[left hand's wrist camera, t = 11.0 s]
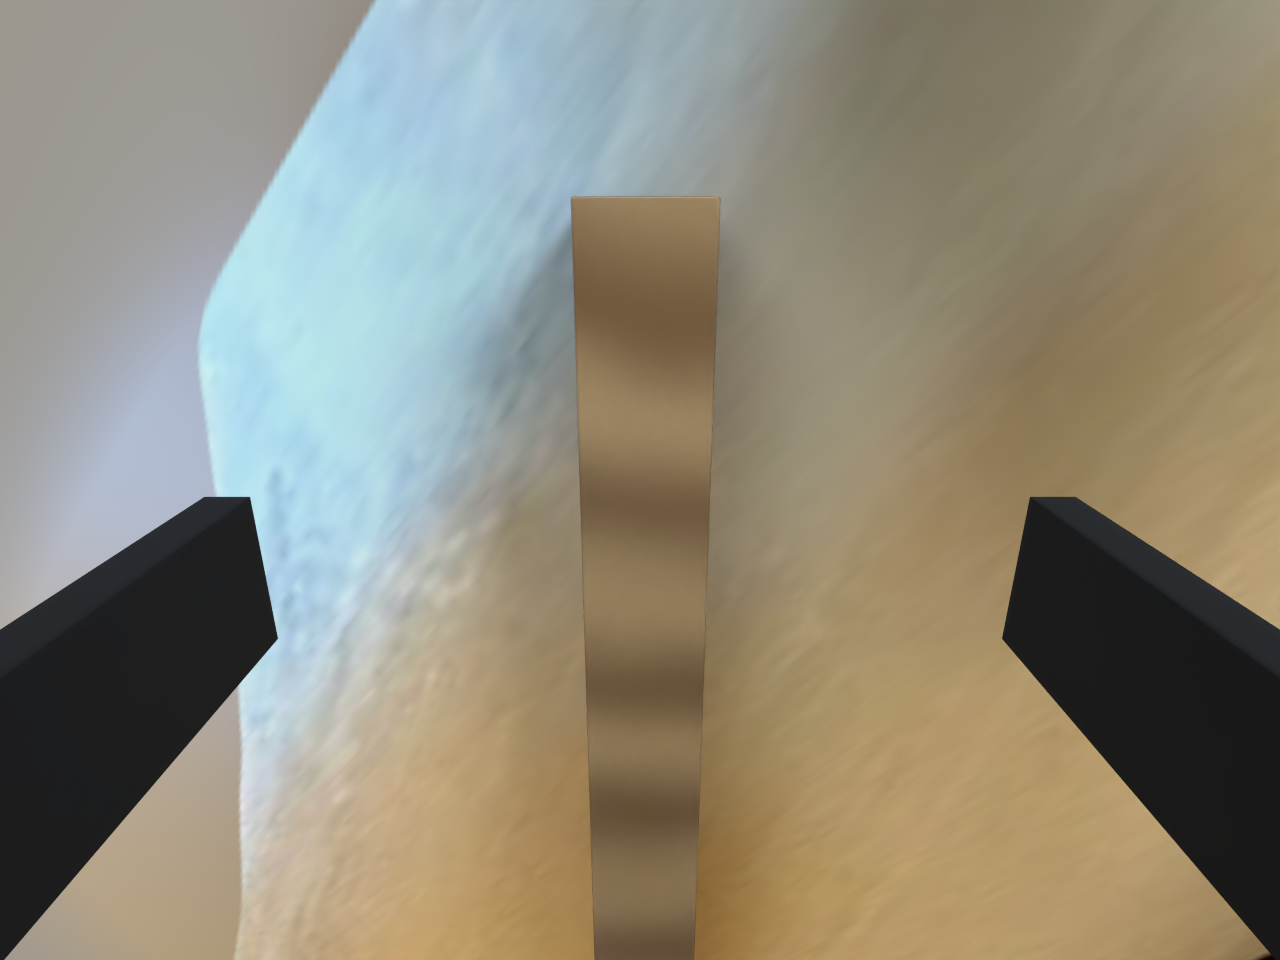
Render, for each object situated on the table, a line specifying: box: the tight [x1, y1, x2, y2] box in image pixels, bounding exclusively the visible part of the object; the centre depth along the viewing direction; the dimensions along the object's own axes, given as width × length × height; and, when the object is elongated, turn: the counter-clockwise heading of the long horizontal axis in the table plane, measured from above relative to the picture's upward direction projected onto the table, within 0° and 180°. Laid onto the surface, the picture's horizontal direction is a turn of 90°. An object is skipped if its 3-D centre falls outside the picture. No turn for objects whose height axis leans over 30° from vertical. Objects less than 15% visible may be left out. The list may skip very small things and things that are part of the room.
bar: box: [571, 196, 720, 960], centre depth 40 cm, size 70×5×7 cm, turn 0°
